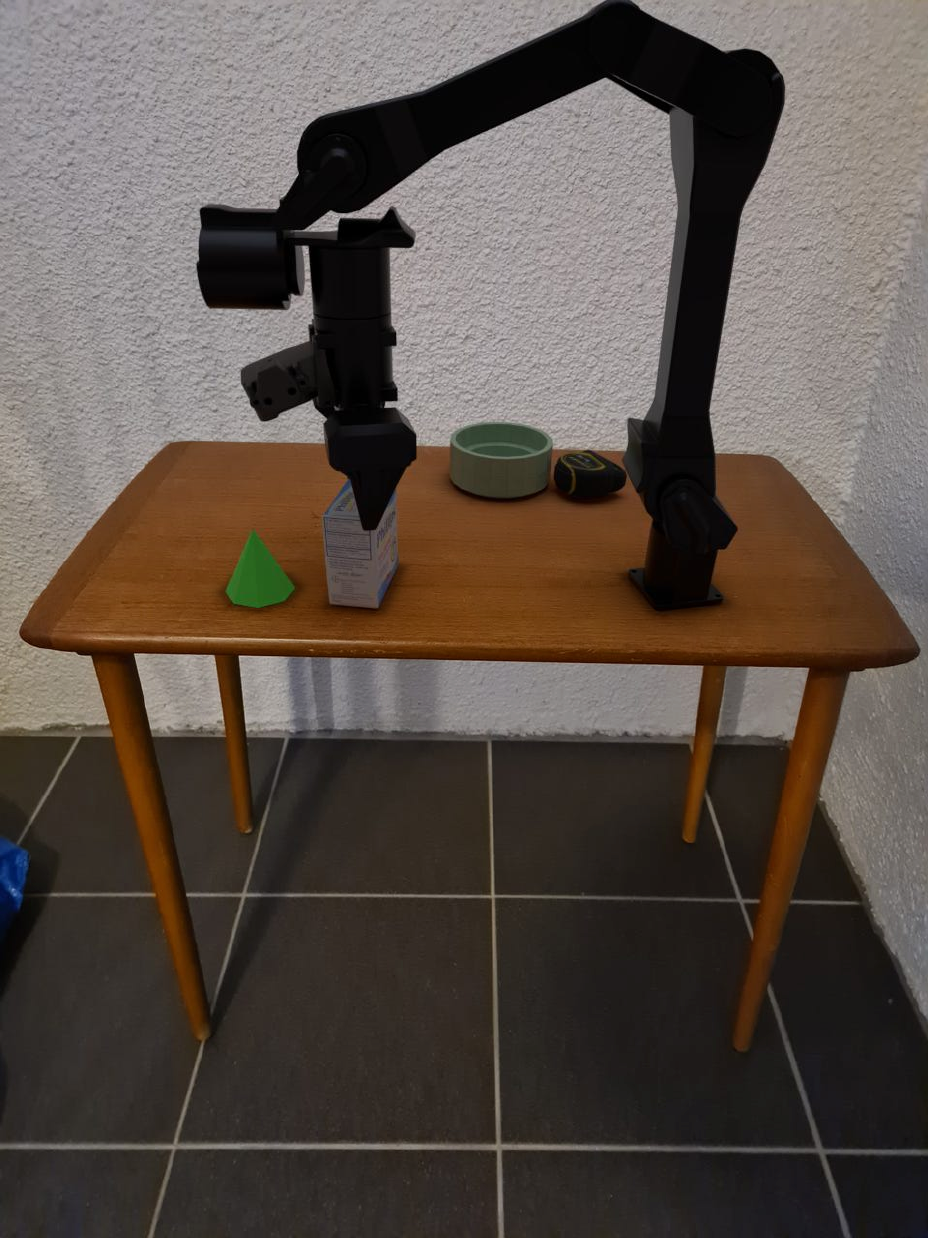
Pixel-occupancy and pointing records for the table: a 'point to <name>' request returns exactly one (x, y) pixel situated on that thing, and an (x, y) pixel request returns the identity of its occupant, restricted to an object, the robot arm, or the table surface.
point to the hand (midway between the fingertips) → (361, 505)
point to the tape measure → (588, 475)
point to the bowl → (500, 459)
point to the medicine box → (358, 552)
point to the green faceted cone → (258, 577)
